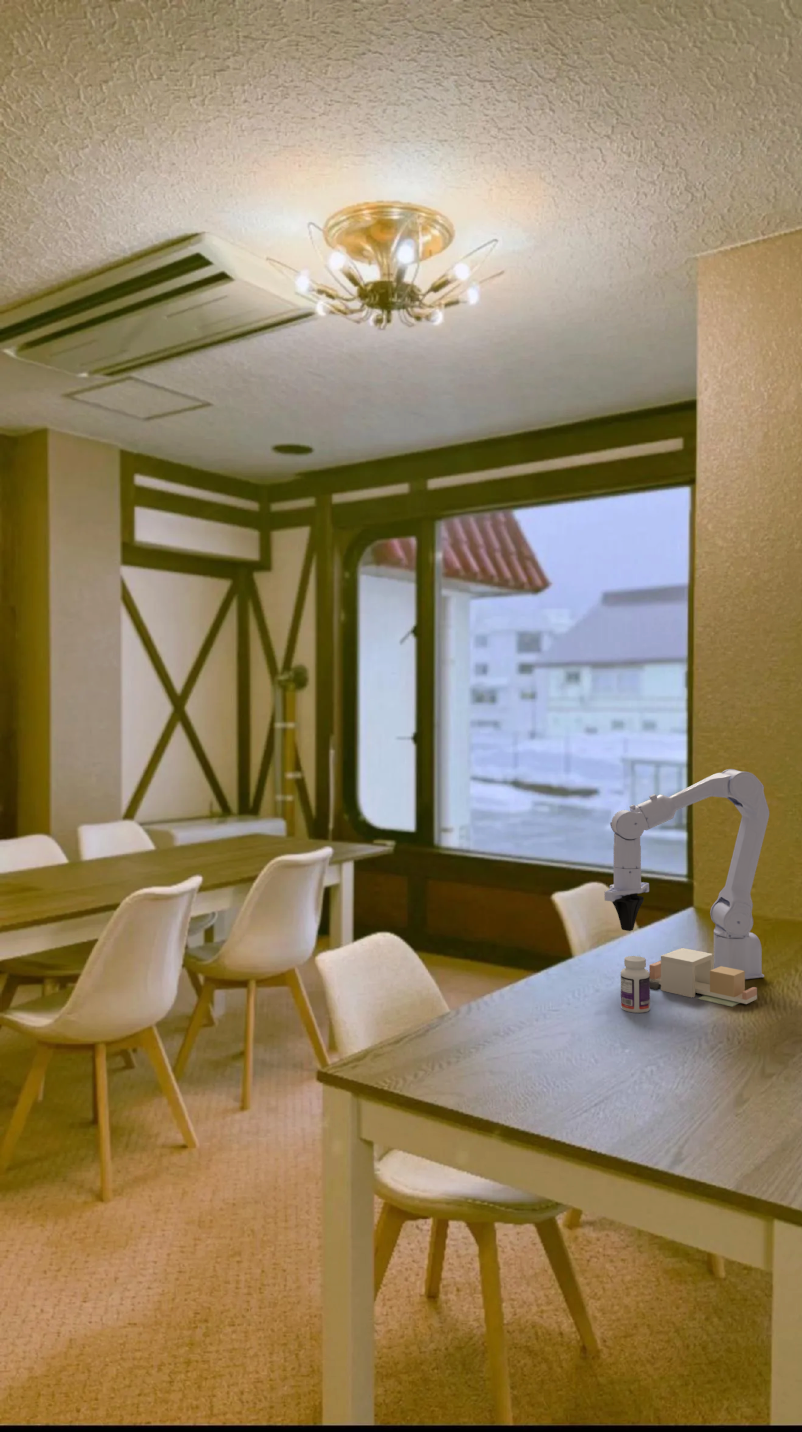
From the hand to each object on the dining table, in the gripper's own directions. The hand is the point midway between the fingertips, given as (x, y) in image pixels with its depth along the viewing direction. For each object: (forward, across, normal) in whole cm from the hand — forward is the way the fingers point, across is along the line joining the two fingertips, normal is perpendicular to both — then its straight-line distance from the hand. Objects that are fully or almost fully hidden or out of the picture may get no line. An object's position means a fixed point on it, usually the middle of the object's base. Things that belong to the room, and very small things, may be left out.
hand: (627, 929), depth 205 cm
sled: (+9, 0, +17) cm, 20 cm away
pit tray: (+10, 0, +7) cm, 12 cm away
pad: (+10, 0, +22) cm, 24 cm away
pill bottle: (+10, +18, +13) cm, 25 cm away
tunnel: (+10, 0, +14) cm, 17 cm away
